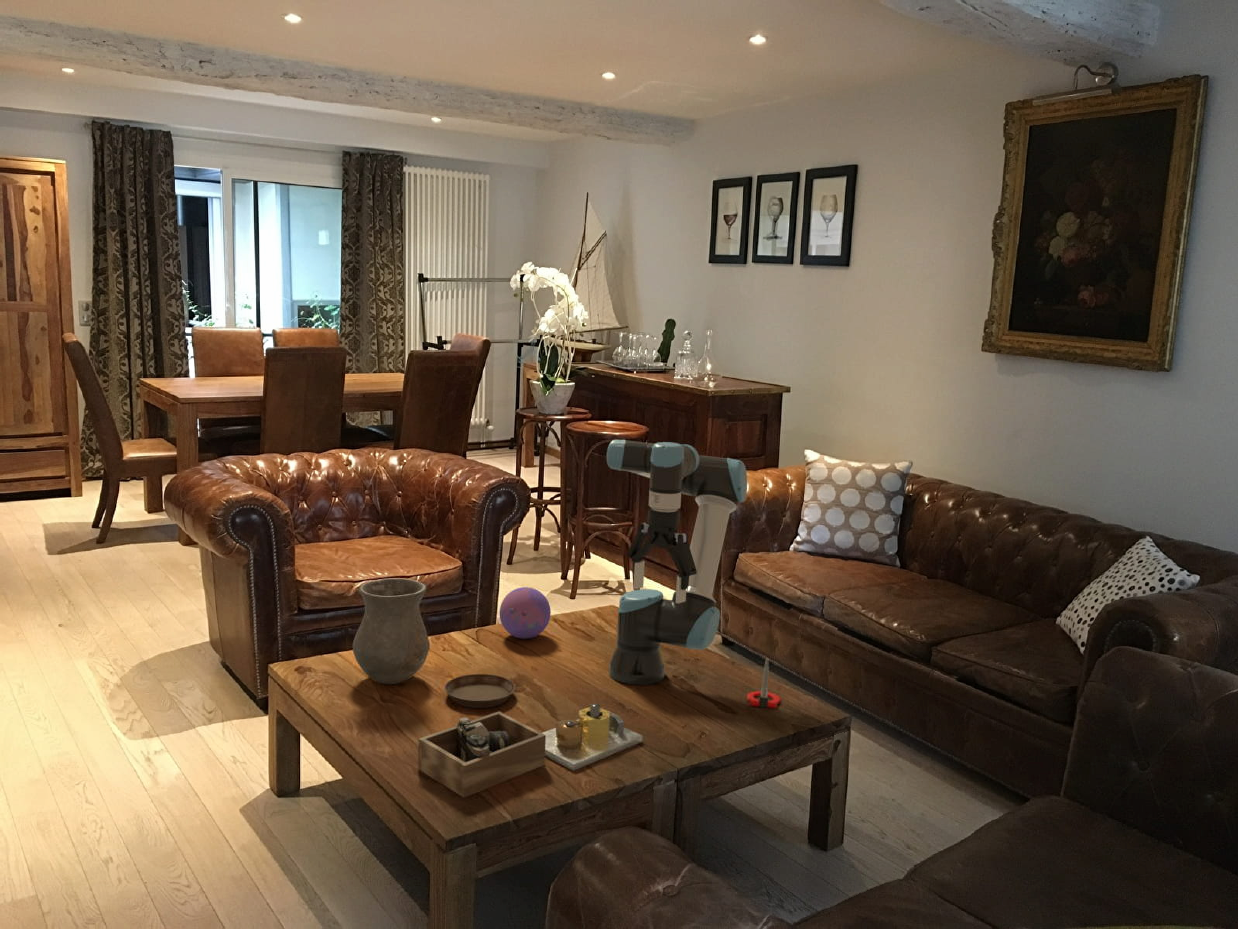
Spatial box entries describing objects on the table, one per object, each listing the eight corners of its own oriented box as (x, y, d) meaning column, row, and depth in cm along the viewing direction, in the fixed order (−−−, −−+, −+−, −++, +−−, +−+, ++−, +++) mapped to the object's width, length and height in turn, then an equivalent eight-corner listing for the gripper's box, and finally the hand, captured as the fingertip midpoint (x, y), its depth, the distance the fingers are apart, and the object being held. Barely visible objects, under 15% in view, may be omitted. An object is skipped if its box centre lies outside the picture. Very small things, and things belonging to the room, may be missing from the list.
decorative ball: (492, 643, 296) (494, 593, 293) (506, 626, 310) (508, 578, 308) (542, 648, 293) (544, 598, 291) (554, 631, 308) (556, 583, 305)
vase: (337, 684, 261) (337, 590, 256) (381, 660, 278) (382, 572, 274) (402, 700, 253) (403, 603, 249) (443, 674, 271) (445, 583, 266)
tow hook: (747, 694, 270) (746, 706, 261) (751, 646, 268) (750, 657, 259) (779, 697, 268) (779, 710, 259) (783, 650, 267) (783, 661, 258)
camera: (519, 777, 215) (520, 732, 214) (472, 786, 211) (472, 740, 210) (496, 748, 230) (496, 706, 228) (451, 756, 225) (451, 712, 224)
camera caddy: (418, 769, 219) (418, 738, 217) (498, 740, 234) (499, 711, 233) (463, 797, 208) (464, 765, 207) (544, 765, 224) (545, 735, 222)
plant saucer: (458, 680, 268) (458, 669, 267) (523, 688, 265) (523, 677, 264) (434, 707, 251) (434, 695, 250) (503, 716, 248) (503, 704, 247)
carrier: (525, 745, 232) (526, 710, 231) (594, 719, 248) (595, 686, 247) (573, 770, 222) (574, 734, 220) (642, 741, 237) (644, 707, 236)
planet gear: (572, 733, 236) (572, 713, 236) (593, 724, 241) (594, 705, 241) (593, 743, 232) (594, 723, 231) (614, 734, 237) (615, 714, 236)
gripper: (615, 500, 246) (611, 585, 250) (694, 521, 229) (688, 611, 233) (636, 496, 252) (632, 579, 255) (715, 516, 235) (709, 605, 238)
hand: (659, 595), depth 244 cm, fingers open, 13 cm apart
